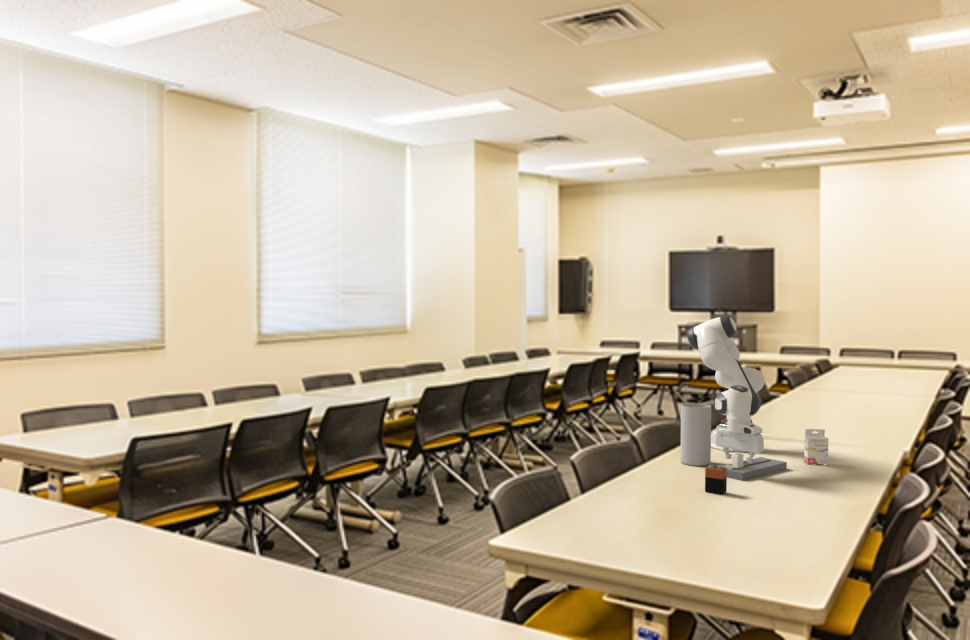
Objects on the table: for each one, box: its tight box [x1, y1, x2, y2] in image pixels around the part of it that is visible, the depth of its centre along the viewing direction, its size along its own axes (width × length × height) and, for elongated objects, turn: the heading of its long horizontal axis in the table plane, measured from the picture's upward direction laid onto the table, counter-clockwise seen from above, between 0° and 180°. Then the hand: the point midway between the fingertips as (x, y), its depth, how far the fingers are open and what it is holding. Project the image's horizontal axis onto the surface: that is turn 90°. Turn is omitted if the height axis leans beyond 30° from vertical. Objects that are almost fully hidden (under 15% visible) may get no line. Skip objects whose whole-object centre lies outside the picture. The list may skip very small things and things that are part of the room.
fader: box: [731, 452, 744, 469], centre depth 297 cm, size 2×4×7 cm, turn 128°
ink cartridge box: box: [803, 428, 829, 465], centre depth 319 cm, size 9×5×15 cm, turn 84°
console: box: [722, 456, 788, 482], centre depth 303 cm, size 12×32×3 cm, turn 128°
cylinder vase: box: [680, 402, 712, 467], centre depth 319 cm, size 12×12×25 cm
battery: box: [704, 464, 728, 495], centre depth 271 cm, size 4×7×10 cm, turn 54°
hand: (738, 460), depth 297 cm, fingers open, 8 cm apart
